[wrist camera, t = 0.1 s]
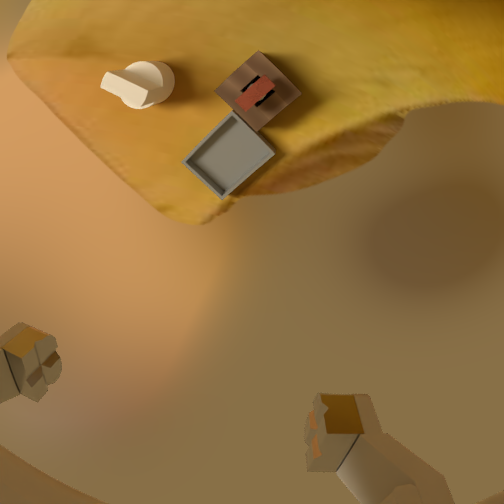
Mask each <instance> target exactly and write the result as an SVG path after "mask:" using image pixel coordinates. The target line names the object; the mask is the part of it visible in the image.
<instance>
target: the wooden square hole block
mask: <svg viewBox="0 0 504 504" xmlns="http://www.w3.org/2000/svg"><path fill="white" fill-rule="evenodd" d="M264 74H265V75H266V76H267V77H268V78H269V79H270V80H271V81H272V82H273V83H274V84H275V85H276V86H275V87H274V88H272V89H273V90H274V92H273V93H272V94H271V95H270V96H268V97H267V98H266V99H265V100H264V101H263V102H262V103H259V102H258V101H257V102H256V103H255V104H254V105H253V106H252V107H251V108H250V109H249V110H247V111H246V112H245V111H244V110H243V109H242V108H241V107H240V106H239V105H238V104H237V103H236V102H235V100H236V99H237V98H238V97H239V96H240V95H242V94H243V93H244V92H245V91H246V89H245V88H246V87H247V86H248V85H249V84H250V83H252V82H253V81H254V80H255V79H256V78H257V77H258V76H260V77H262V76H263V75H264ZM215 92H216V93H217V94H218V95H219V96H220V97H221V98H222V99H223V100H224V101H225V102H226V103H227V104H228V105H229V106H231V107H232V108H233V109H234V110H235V111H236V112H237V113H238V114H239V115H240V116H241V117H242V118H243V119H244V120H245V121H246V122H247V123H248V124H249V125H250V126H251V127H252V128H253V129H254V130H255V131H256V132H257V131H258V130H259V129H261V128H262V127H263V126H264V125H265V124H266V123H268V122H269V121H270V120H271V119H272V118H273V117H274V116H276V115H277V114H278V113H279V112H280V111H282V110H283V109H284V108H285V107H286V106H288V105H289V104H290V103H291V102H292V101H294V100H295V99H296V98H297V97H299V96H300V95H301V94H302V93H301V92H300V91H299V90H298V89H297V87H296V86H295V85H294V84H293V83H292V82H291V81H290V80H289V79H288V78H287V77H286V76H285V75H284V74H283V73H282V72H281V71H280V70H279V69H278V68H277V67H276V66H275V65H274V64H273V63H272V62H271V61H270V60H269V59H268V58H267V57H266V56H264V55H263V54H262V53H261V52H260V51H259V50H258V51H257V52H256V53H255V54H254V55H252V56H251V57H250V58H249V59H248V60H247V61H246V62H245V63H243V64H242V65H241V66H240V67H239V68H238V69H237V70H236V71H235V72H234V73H232V74H231V75H230V76H229V77H228V78H227V79H226V80H225V81H224V82H223V83H222V84H221V85H220V86H219V87H218V88H217V89H216V90H215Z"/></svg>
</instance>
